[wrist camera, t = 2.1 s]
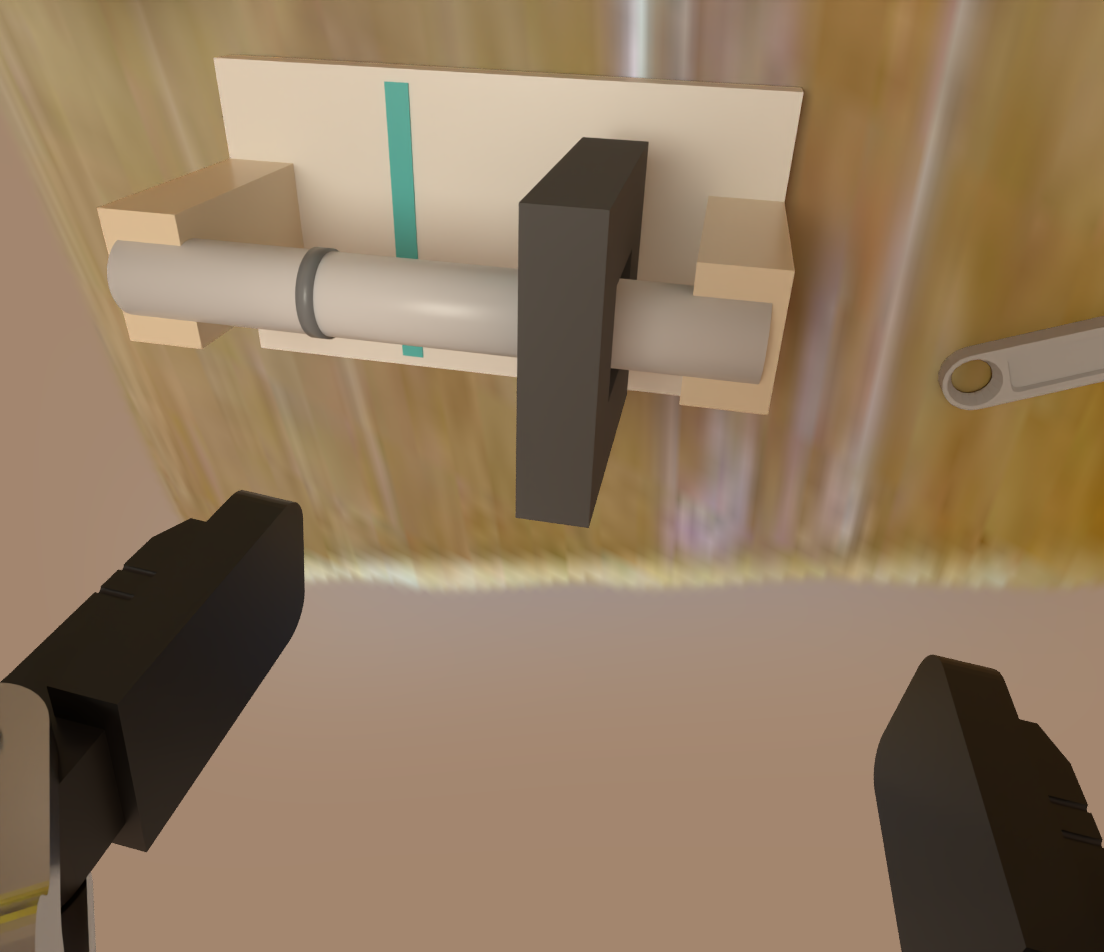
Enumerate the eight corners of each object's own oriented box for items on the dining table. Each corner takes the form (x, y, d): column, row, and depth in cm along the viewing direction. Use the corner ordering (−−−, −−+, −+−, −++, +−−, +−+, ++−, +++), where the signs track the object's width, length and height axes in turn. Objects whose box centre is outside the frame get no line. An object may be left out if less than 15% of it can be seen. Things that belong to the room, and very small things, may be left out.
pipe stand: (801, 87, 32) (824, 139, 23) (749, 389, 39) (749, 529, 29) (231, 54, 36) (41, 87, 26) (275, 336, 43) (136, 444, 33)
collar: (648, 141, 30) (609, 210, 21) (626, 393, 35) (588, 527, 27) (582, 136, 30) (518, 202, 22) (570, 387, 35) (515, 517, 27)
